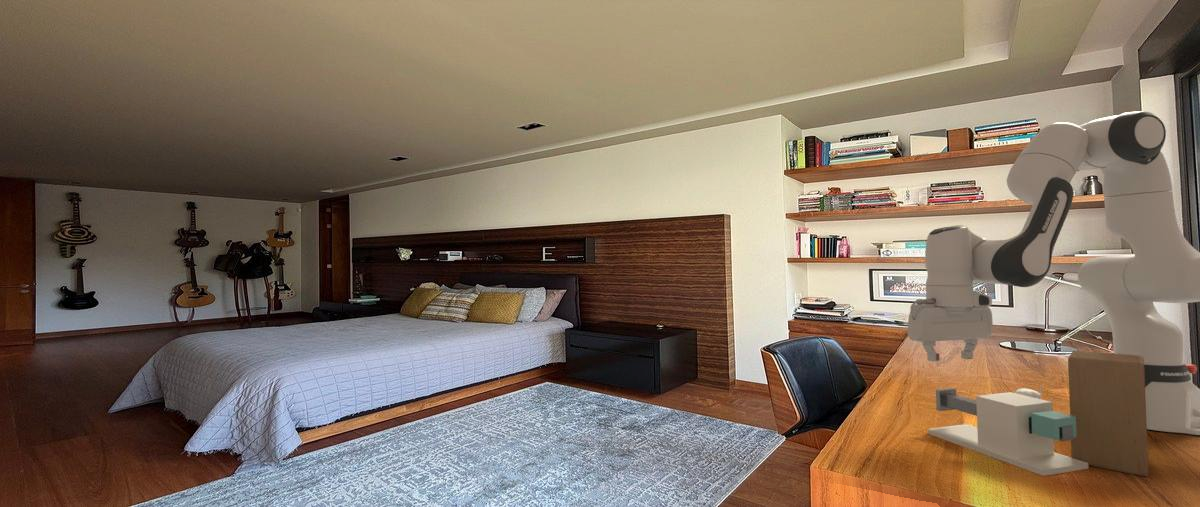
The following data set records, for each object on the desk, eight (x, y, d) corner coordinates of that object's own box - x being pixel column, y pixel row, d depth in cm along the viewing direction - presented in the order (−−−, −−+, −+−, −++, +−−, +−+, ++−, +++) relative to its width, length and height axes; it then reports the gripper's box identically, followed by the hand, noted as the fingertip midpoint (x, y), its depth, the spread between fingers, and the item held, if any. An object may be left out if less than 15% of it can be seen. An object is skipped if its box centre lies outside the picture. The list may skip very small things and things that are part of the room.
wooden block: (1147, 461, 97) (1143, 355, 98) (1148, 478, 90) (1144, 363, 91) (1075, 448, 104) (1072, 349, 105) (1071, 462, 98) (1067, 357, 98)
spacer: (1052, 430, 98) (1051, 410, 98) (1076, 437, 94) (1075, 416, 94) (1032, 432, 97) (1031, 413, 97) (1055, 440, 93) (1054, 419, 93)
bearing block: (966, 428, 118) (964, 380, 118) (1088, 468, 95) (1086, 408, 95) (927, 433, 115) (925, 384, 116) (1043, 475, 92) (1040, 414, 92)
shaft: (952, 408, 118) (952, 387, 118) (1077, 445, 94) (1076, 419, 94) (936, 410, 117) (935, 389, 117) (1058, 447, 92) (1057, 422, 93)
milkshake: (1051, 433, 114) (1049, 387, 114) (1023, 432, 115) (1022, 387, 115) (1038, 426, 118) (1036, 383, 118) (1011, 425, 119) (1010, 382, 119)
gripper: (923, 300, 110) (924, 365, 110) (998, 297, 115) (999, 360, 115) (899, 298, 116) (900, 359, 116) (971, 296, 121) (972, 355, 121)
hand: (950, 360), depth 115 cm, fingers open, 8 cm apart
